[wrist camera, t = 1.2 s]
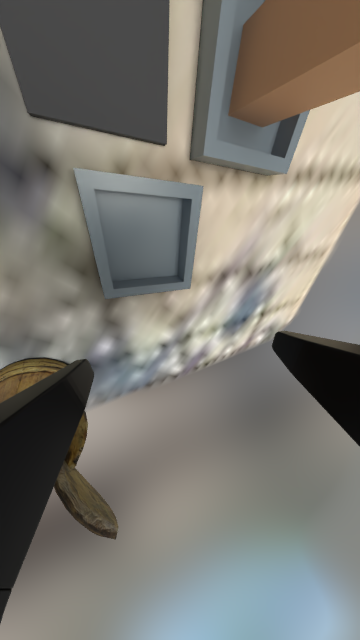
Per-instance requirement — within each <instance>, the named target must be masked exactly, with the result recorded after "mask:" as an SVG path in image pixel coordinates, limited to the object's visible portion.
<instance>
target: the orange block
mask: <svg viewBox="0 0 360 640" xmlns="http://www.w3.org/2000/svg"><path fill="white" fill-rule="evenodd" d="M359 91H360V0H265V1H264V3H263V4H262V5H261V6H260V7H259V8H258V9H257V10H256V11H255V13H254V14H253V15H252V16H251V17H250V18H249V19H248V20H247V21H246V22H245V24H244V25H243V30H242V36H241V42H240V48H239V54H238V60H237V66H236V72H235V78H234V84H233V89H232V95H231V101H230V107H229V113H228V116H231V117H234V118H237V119H239V120H242V121H245V122H248V123H251V124H254V125H257V126H260V127H265V126H268V125H270V124H273V123H276V122H278V121H281V120H284V119H287V118H289V117H292V116H295V115H297V114H300V113H303V112H305V111H308V110H311V109H313V108H316V107H319V106H321V105H324V104H327V103H329V102H332V101H335V100H337V99H340V98H343V97H346V96H348V95H351V94H354V93H356V92H359Z"/></svg>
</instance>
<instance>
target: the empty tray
mask: <svg viewBox="0 0 360 640" xmlns="http://www.w3.org/2000/svg"><path fill="white" fill-rule="evenodd" d="M73 169H74V173H75V177H76V181H77V185H78V189H79V193H80V197H81V202H82V206H83V210H84V214H85V218H86V222H87V226H88V231H89V235H90V239H91V243H92V247H93V251H94V255H95V260H96V264H97V268H98V272H99V276H100V280H101V284H102V289H103V293H104V297H105V299H109V298H117V297H126V296H134V295H142V294H150V293H158V292H166V291H174V290H182V289H190V286H191V278H192V270H193V263H194V255H195V247H196V240H197V232H198V224H199V217H200V209H201V201H202V194H203V186H200V185H193V184H186V183H179V182H172V181H165V180H158V179H151V178H143V177H136V176H129V175H122V174H115V173H108V172H101V171H94V170H87V169H80V168H73Z"/></svg>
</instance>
